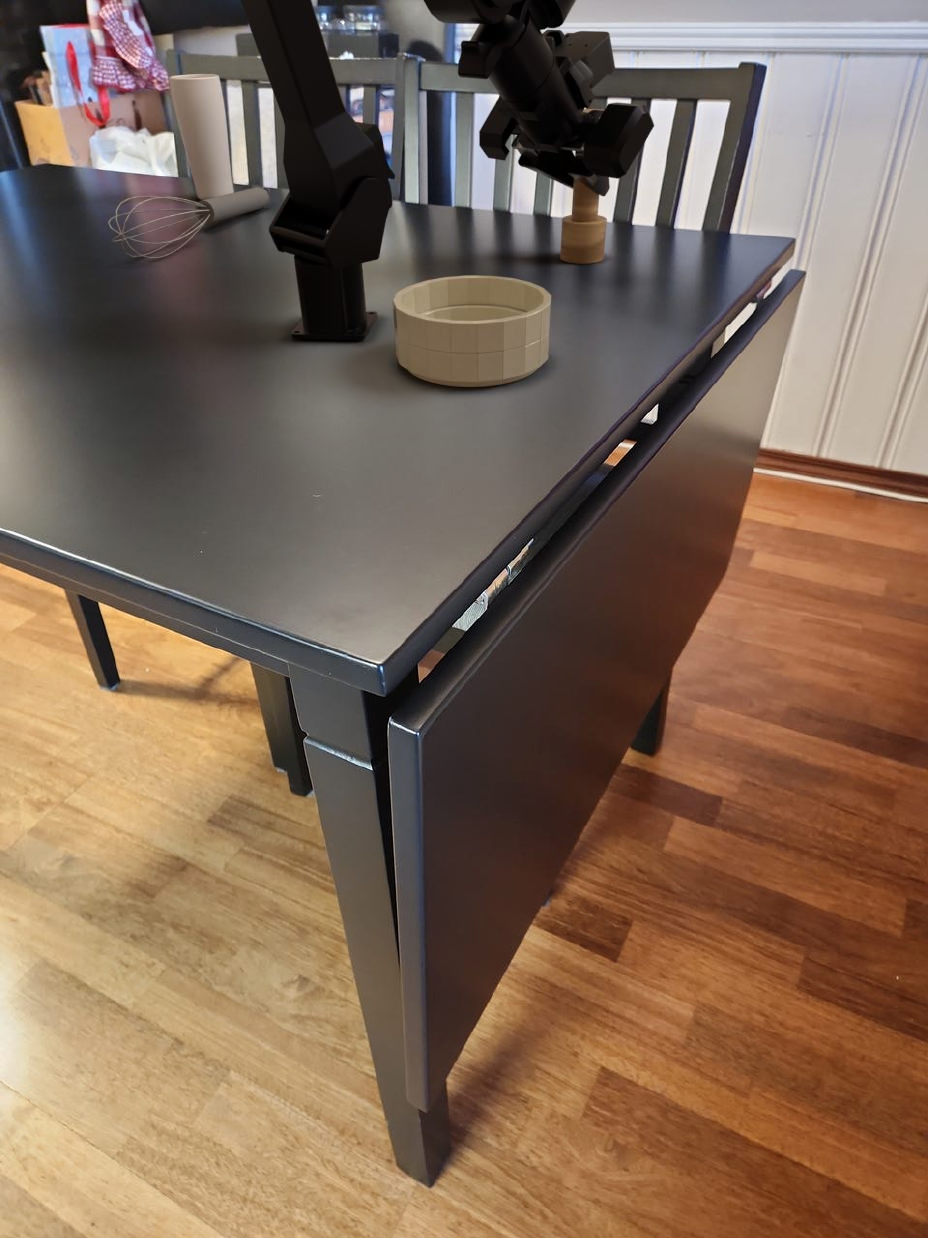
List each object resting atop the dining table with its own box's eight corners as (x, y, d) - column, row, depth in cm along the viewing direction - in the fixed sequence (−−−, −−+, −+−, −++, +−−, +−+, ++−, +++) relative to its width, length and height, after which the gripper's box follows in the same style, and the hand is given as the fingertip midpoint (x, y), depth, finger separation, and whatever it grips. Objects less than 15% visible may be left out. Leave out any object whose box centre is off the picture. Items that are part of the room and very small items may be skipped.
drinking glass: (183, 201, 119) (157, 77, 110) (207, 192, 124) (185, 73, 115) (224, 204, 117) (202, 78, 108) (248, 194, 122) (228, 73, 113)
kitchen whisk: (289, 205, 116) (282, 154, 112) (153, 271, 90) (138, 208, 87) (250, 203, 117) (242, 153, 113) (105, 268, 92) (88, 206, 88)
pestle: (604, 263, 89) (616, 112, 81) (559, 263, 90) (567, 113, 81) (603, 252, 93) (615, 107, 84) (560, 252, 93) (567, 107, 85)
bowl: (545, 392, 62) (548, 324, 58) (385, 388, 63) (379, 321, 60) (549, 336, 71) (552, 276, 68) (410, 334, 72) (407, 274, 69)
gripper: (654, -7, 69) (709, 130, 82) (499, -5, 80) (568, 115, 93) (586, 112, 70) (650, 230, 83) (441, 97, 81) (517, 203, 94)
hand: (594, 190), depth 88 cm, fingers closed on pestle, 3 cm apart
